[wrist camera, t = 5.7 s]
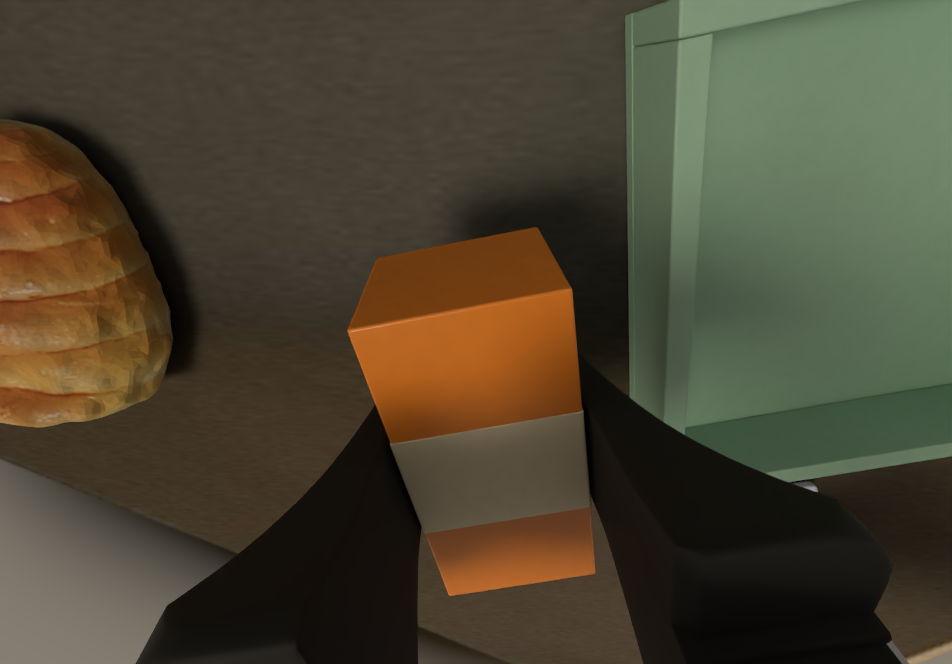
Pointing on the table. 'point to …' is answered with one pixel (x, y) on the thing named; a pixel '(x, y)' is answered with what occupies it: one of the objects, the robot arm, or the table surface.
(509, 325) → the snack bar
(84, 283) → the pastry
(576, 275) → the table surface
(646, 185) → the tub
